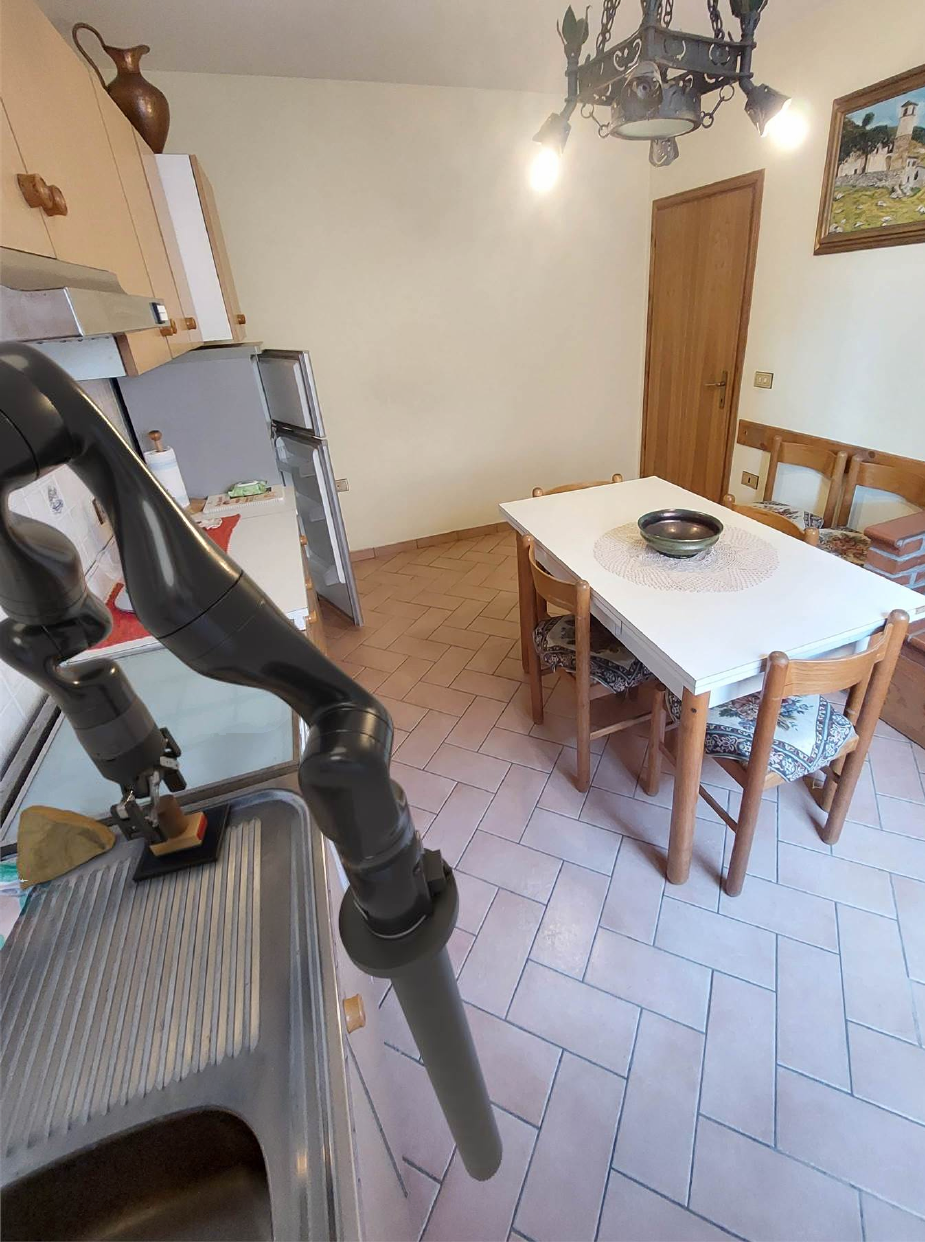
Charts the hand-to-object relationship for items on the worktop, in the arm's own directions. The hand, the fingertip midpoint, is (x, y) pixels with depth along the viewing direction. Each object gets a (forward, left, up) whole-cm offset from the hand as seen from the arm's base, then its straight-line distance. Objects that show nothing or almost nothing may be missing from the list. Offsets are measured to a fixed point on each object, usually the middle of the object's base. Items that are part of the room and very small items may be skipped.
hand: (170, 814), depth 78 cm
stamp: (0, 0, -5) cm, 5 cm away
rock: (+16, -2, -7) cm, 18 cm away
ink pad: (0, 0, -6) cm, 6 cm away
